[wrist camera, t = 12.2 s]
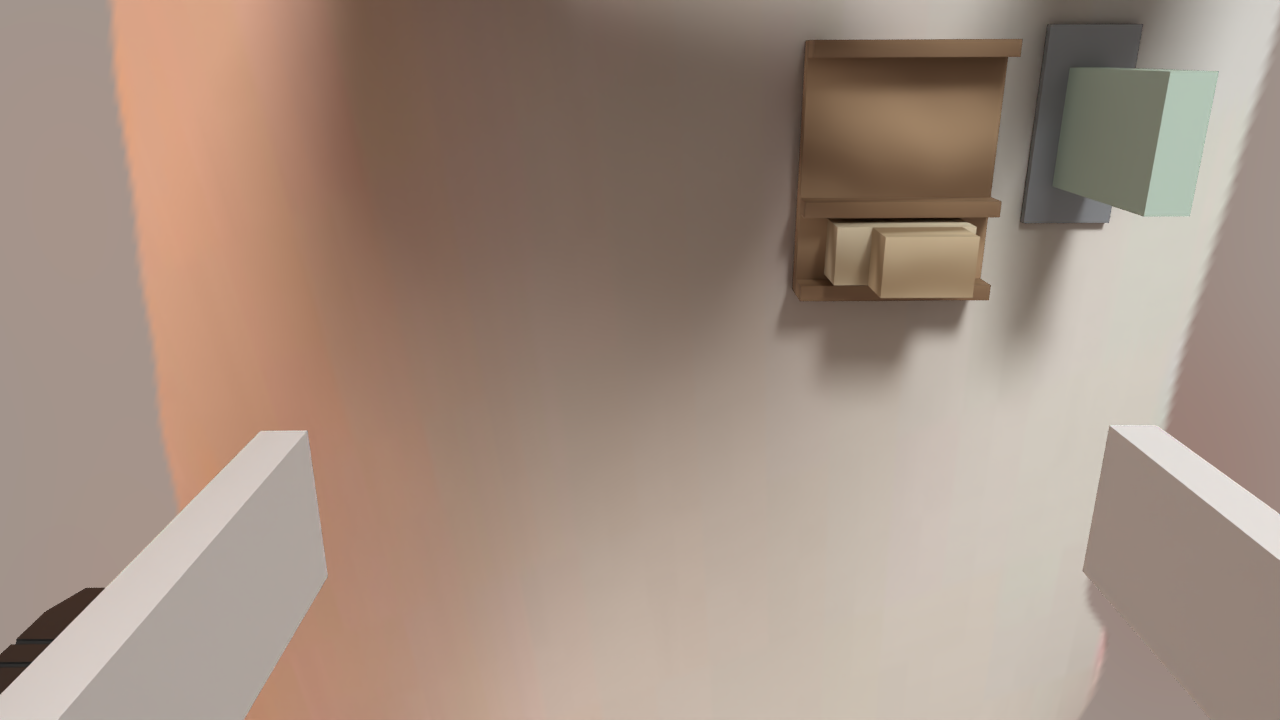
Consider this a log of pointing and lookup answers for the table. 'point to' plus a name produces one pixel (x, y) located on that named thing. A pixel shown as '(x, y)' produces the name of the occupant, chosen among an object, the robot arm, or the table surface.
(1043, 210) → the mat
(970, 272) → the offcut top
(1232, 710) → the robot arm
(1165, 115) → the sheet
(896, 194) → the rack
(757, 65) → the table surface
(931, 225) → the block
